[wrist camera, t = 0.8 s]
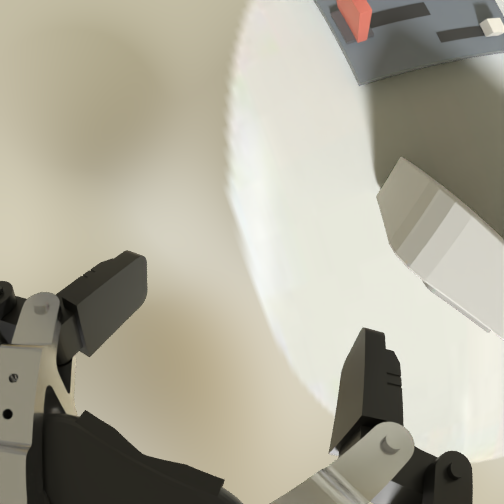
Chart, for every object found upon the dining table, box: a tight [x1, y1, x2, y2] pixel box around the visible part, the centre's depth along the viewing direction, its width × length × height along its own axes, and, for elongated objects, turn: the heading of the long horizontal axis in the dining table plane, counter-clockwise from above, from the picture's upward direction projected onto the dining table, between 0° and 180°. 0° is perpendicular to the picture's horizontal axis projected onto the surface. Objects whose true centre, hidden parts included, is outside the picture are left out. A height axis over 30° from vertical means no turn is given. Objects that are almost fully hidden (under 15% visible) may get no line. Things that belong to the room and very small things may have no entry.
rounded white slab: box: [376, 157, 504, 341], centre depth 23 cm, size 29×8×18 cm, turn 65°
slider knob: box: [480, 18, 504, 37], centre depth 16 cm, size 2×2×2 cm
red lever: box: [330, 0, 374, 44], centre depth 18 cm, size 3×4×10 cm
